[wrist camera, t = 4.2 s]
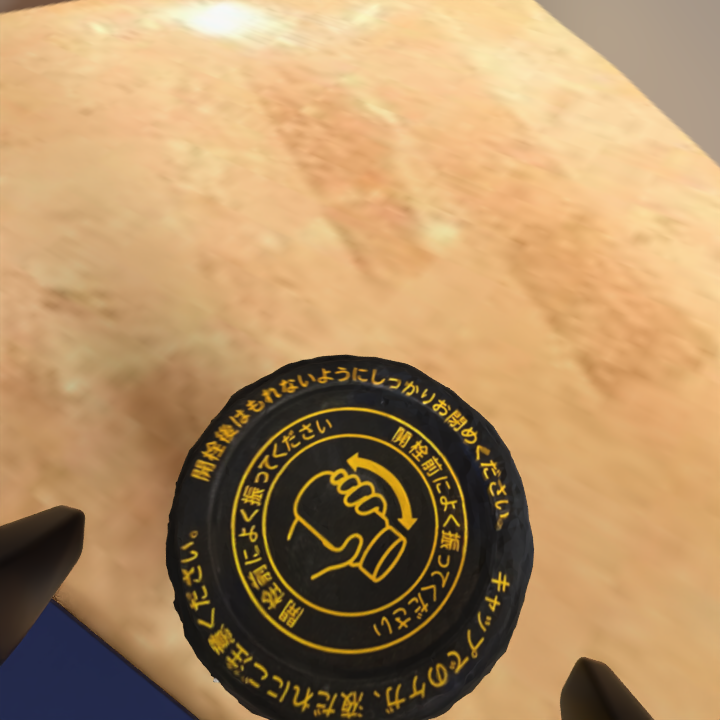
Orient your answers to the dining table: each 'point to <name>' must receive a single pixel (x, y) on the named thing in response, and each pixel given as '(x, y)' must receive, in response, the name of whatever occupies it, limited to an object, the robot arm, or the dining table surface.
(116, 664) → the cloth
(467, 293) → the dining table surface
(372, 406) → the condiment
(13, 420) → the dining table surface
